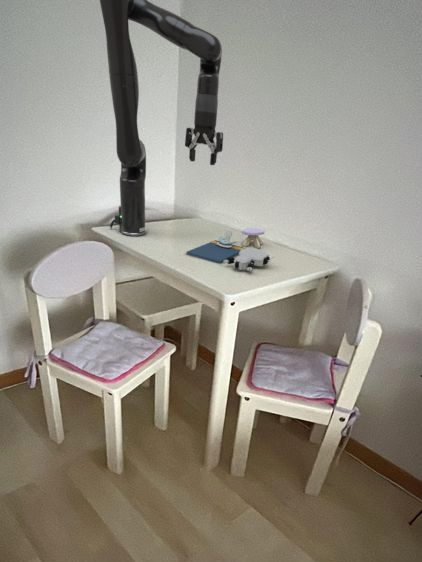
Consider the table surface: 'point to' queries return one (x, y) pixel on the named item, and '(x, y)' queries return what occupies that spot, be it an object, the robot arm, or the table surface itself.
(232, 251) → the blue book
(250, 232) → the toy table
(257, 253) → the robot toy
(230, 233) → the pacifier
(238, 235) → the table surface
